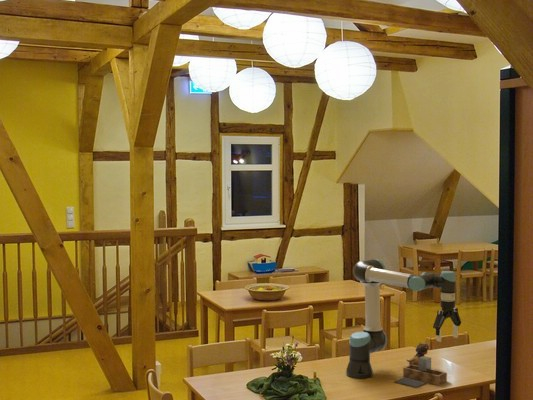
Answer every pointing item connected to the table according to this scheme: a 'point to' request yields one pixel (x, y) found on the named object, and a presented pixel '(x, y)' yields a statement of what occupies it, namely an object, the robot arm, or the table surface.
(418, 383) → the rubber mat
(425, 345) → the figurine
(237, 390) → the table surface
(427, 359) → the metal block
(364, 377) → the robot arm
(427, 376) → the channel
